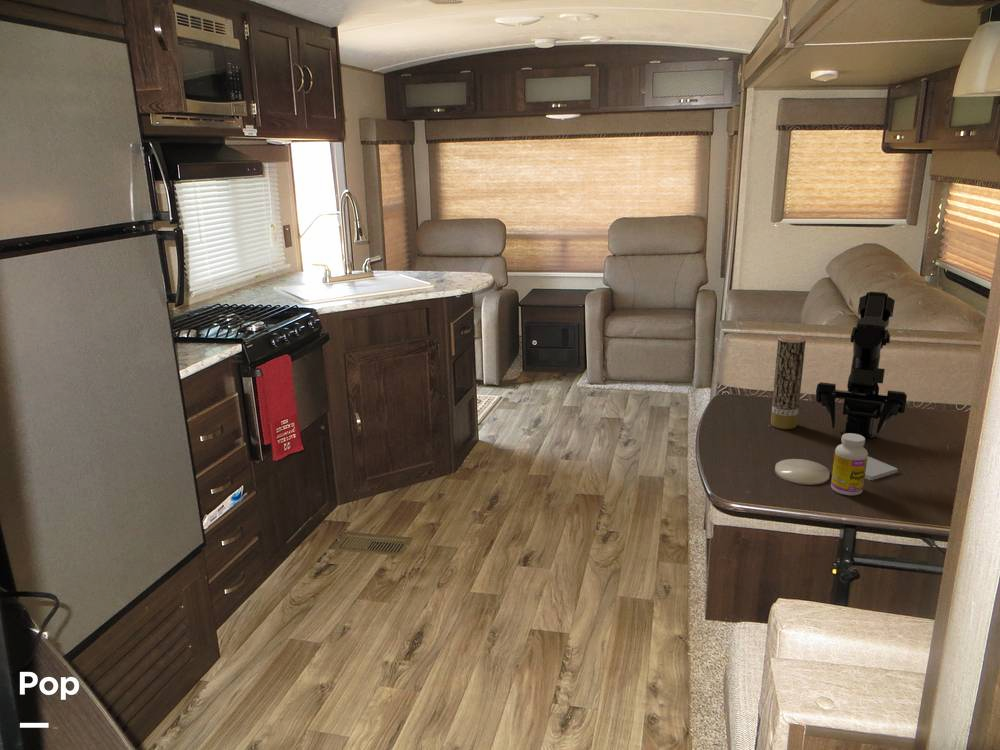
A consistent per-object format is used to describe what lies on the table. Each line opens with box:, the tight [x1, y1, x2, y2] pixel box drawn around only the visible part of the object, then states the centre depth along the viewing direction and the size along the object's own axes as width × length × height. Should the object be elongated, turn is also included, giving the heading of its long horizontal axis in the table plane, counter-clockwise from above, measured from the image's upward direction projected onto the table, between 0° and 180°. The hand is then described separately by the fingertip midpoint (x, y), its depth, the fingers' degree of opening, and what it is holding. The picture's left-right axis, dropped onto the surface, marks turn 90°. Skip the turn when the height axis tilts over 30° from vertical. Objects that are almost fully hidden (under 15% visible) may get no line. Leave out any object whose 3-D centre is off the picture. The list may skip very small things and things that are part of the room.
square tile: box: [865, 455, 899, 481], centre depth 180 cm, size 9×9×1 cm
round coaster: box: [774, 458, 831, 486], centre depth 179 cm, size 12×12×1 cm
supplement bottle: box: [830, 433, 869, 497], centre depth 168 cm, size 7×7×13 cm
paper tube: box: [770, 333, 807, 430], centre depth 203 cm, size 7×7×25 cm
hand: (855, 430), depth 172 cm, fingers open, 9 cm apart
